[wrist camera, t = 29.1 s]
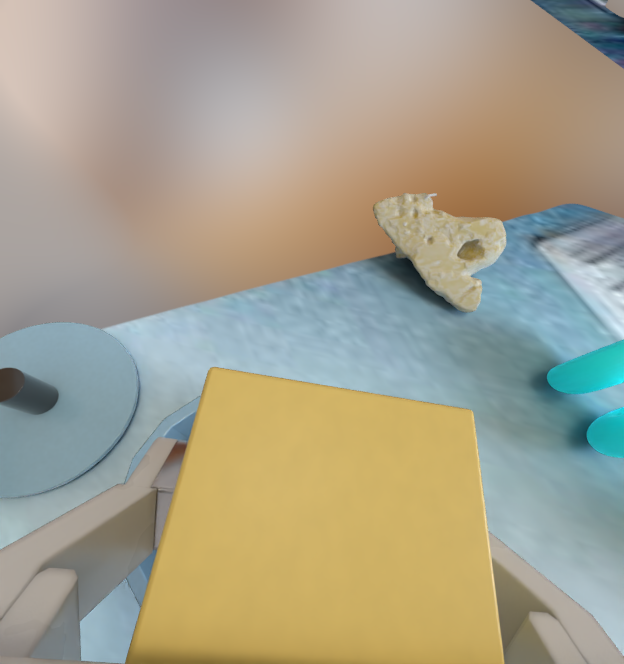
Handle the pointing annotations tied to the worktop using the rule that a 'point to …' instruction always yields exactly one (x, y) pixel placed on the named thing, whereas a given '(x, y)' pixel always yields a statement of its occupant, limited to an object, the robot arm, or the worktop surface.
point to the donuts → (591, 375)
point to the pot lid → (60, 403)
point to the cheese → (442, 245)
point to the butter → (322, 533)
